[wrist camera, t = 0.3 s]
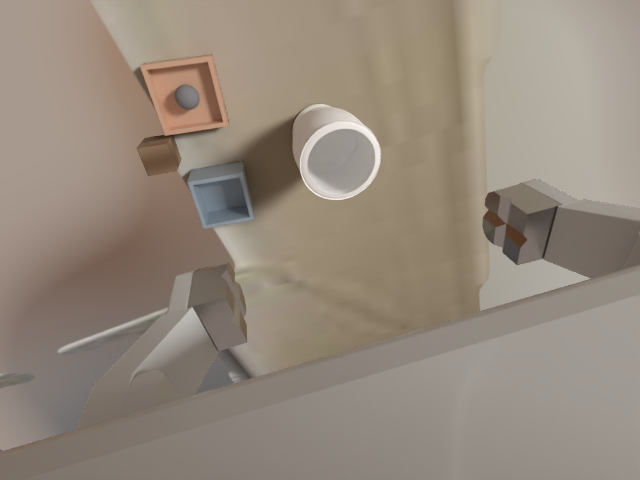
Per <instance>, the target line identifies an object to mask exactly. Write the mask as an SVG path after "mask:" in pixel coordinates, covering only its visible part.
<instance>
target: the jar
mask: <svg viewBox="0 0 640 480" xmlns="http://www.w3.org/2000/svg"><path fill="white" fill-rule="evenodd" d="M292 134H293V155H294V159H295V162H296V164H297V166H298V168H299V170H300V172H301V176H302V178H303V181H304V183H305V184H306V186H307V187H308V188H309V189H310V190H311V191H312V192H313V193H315V194H316V195H318V196H320V197H322V198H325V199H330V200H341V199H346V198H350V197H353V196H355V195H357V194H359V193H360V192H362V191H363V190H364V189H365V188H367V187H368V186H369V185H370V183H371V182H372V181H373V180H374V178H375V176H376V174H377V172H378V170H379V167H380V163H381V149H380V145H379V142H378V140H377V138H376V137H375V135H374V134H373V133H372V131H371V130H370V129H369V128H367V127H366V126H364V125H363V124H362V123H361V122H360V121H359V120H358V119H357V118H356V117H355V116H353V115H352V114H350V113H349V112H347V111H344V110H342V109H338V108H334V107H331V106H328V105H325V104H315V105H311V106H309V107H307V108H305V109H304V110H303V111H301V112H300V113H299V115H298V116H297V117H296V119H295V121H294V124H293V130H292Z"/></svg>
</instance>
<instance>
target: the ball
mask: <svg viewBox="0 0 640 480" xmlns="http://www.w3.org/2000/svg"><path fill="white" fill-rule="evenodd" d="M175 100H176V102H177V104H178V105H179V106H180V107H182V108H183V109H186V110H191V109H194V108H196V107H197V106H198V104H199V101H200V96H199V93H198V91H197V90H196V89H195V88H194V87H192V86H191V85H187V84H184V85H181V86H179V87H178V88H177V89H176V91H175Z"/></svg>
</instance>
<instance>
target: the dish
mask: <svg viewBox="0 0 640 480" xmlns="http://www.w3.org/2000/svg"><path fill="white" fill-rule="evenodd" d="M140 68H141V71H142V73H143V76H144V79H145V82H146V84H147V87H148V90H149V93H150V96H151V98H152V101H153V104H154V107H155V109H156V112H157V115H158V118H159V121H160V123H161V126H162V129H163V132H164V134H165V136H167V135H174V134H180V133H186V132H193V131H199V130H206V129H212V128H219V127H225V126H229V120H228V116H227V112H226V108H225V104H224V100H223V96H222V92H221V87H220V83H219V79H218V75H217V71H216V67H215V63H214V59H213V55H212V54H211V55H204V56H196V57H188V58H181V59H173V60H165V61H158V62H150V63H144V64H142V65H140ZM184 84H187V85H191V86H192V87H194V88H195V89H196V90H197V91H198V93H199V96H200V101H199V104H198V106H197V107H196V108H194V109H191V110H186V109H183V108H182V107H180V106H179V105H178V104H177V102H176V100H175V91H176V89H177V88H178V87H179V86H181V85H184Z"/></svg>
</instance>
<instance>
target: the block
mask: <svg viewBox="0 0 640 480" xmlns="http://www.w3.org/2000/svg"><path fill="white" fill-rule="evenodd" d="M137 150H138V152H139V155H140V157H141V160H142V162H143V165H144V167H145V170H146V172H147V174H148V176H150V175H157V174H162V173H168V172H174V171H177V169H178V167H179V164H180V162H181V157H180V154H179V151H178V148H177V145H176V142H175V139H174V136H173V135H167V136H165V135H161V136H154V137H149V138H145V139H144V140H143V141H142V142H141V144H140V145H139V146H138V148H137Z"/></svg>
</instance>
